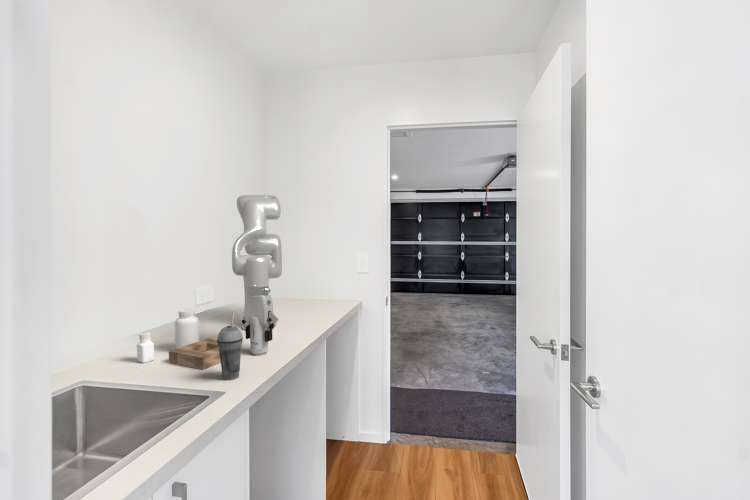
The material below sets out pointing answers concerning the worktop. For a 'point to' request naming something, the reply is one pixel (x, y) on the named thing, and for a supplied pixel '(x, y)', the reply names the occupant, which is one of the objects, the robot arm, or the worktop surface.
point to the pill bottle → (186, 328)
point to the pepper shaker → (145, 348)
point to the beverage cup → (230, 351)
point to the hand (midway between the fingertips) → (259, 339)
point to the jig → (197, 354)
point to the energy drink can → (257, 337)
